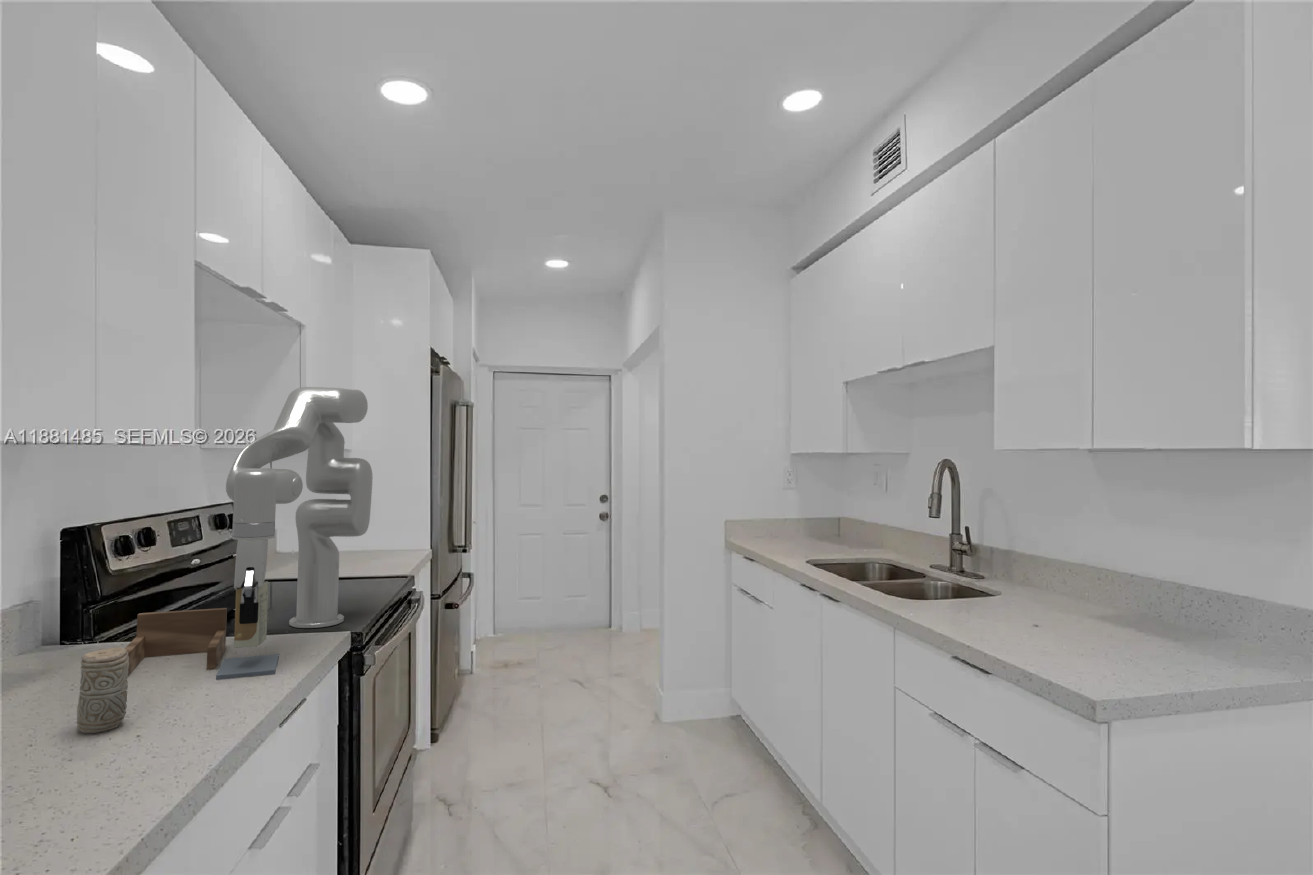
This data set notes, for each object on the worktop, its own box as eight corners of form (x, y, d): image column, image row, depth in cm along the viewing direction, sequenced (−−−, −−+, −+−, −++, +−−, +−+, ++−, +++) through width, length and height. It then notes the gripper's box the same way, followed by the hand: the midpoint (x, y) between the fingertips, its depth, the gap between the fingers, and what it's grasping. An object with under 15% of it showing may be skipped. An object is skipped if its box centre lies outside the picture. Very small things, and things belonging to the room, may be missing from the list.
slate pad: (224, 662, 146) (224, 658, 146) (278, 657, 150) (278, 653, 150) (215, 679, 135) (216, 675, 135) (274, 674, 139) (275, 669, 139)
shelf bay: (137, 656, 149) (139, 613, 149) (225, 648, 156) (227, 607, 156) (117, 678, 135) (119, 631, 135) (215, 669, 141) (216, 624, 142)
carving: (80, 740, 106) (83, 660, 107) (71, 726, 112) (74, 650, 112) (131, 728, 111) (134, 652, 111) (121, 716, 116) (124, 643, 117)
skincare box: (244, 640, 145) (246, 581, 146) (267, 639, 146) (269, 580, 147) (232, 648, 139) (234, 586, 139) (256, 648, 140) (259, 586, 140)
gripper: (237, 527, 149) (234, 611, 149) (226, 536, 134) (223, 630, 133) (277, 526, 153) (274, 609, 152) (271, 535, 137) (268, 627, 136)
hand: (250, 618), depth 143 cm, fingers closed on skincare box, 6 cm apart
